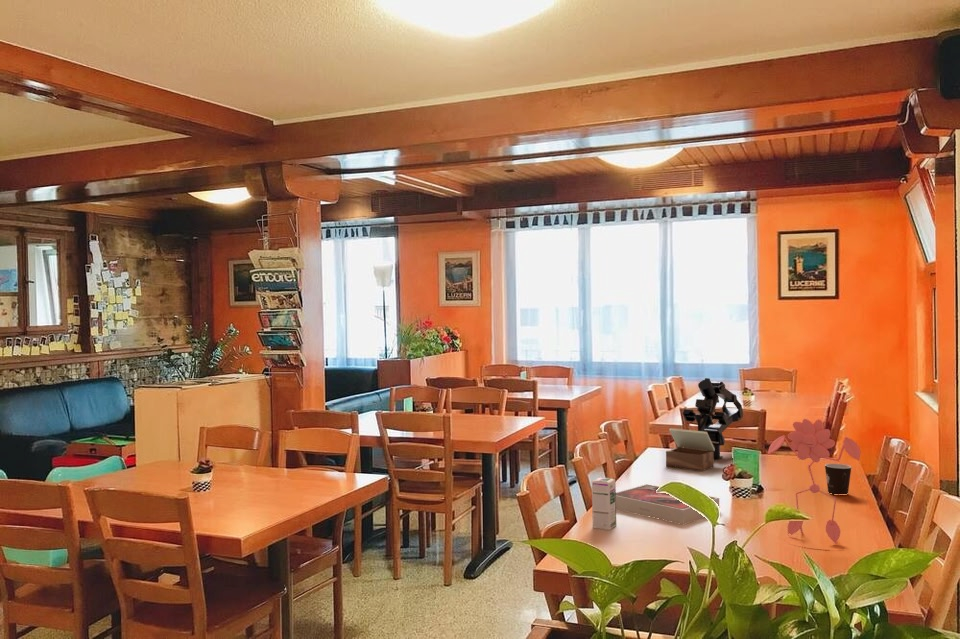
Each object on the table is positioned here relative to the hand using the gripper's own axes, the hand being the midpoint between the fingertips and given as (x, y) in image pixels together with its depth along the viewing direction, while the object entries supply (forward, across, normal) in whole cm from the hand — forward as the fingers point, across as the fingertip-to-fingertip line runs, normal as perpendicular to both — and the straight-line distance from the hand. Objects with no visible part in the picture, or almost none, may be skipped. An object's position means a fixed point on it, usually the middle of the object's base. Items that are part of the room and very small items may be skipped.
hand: (699, 431), depth 327 cm
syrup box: (+89, +18, -69) cm, 114 cm away
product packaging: (+68, +23, -48) cm, 86 cm away
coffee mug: (+26, +62, -7) cm, 68 cm away
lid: (+8, 0, -4) cm, 8 cm away
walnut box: (+16, 0, +3) cm, 17 cm away
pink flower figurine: (+72, +71, -52) cm, 114 cm away
